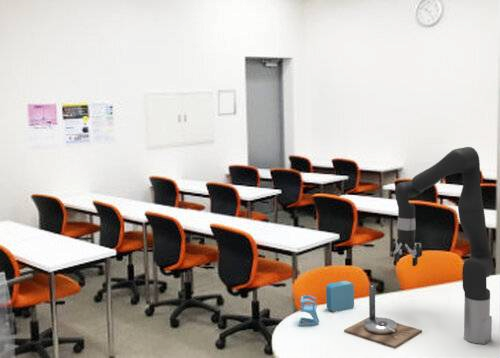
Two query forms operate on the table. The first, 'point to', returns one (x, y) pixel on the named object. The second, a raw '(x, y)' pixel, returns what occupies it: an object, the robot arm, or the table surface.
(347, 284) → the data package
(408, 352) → the table surface
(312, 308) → the chair
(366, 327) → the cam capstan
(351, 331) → the base plate
